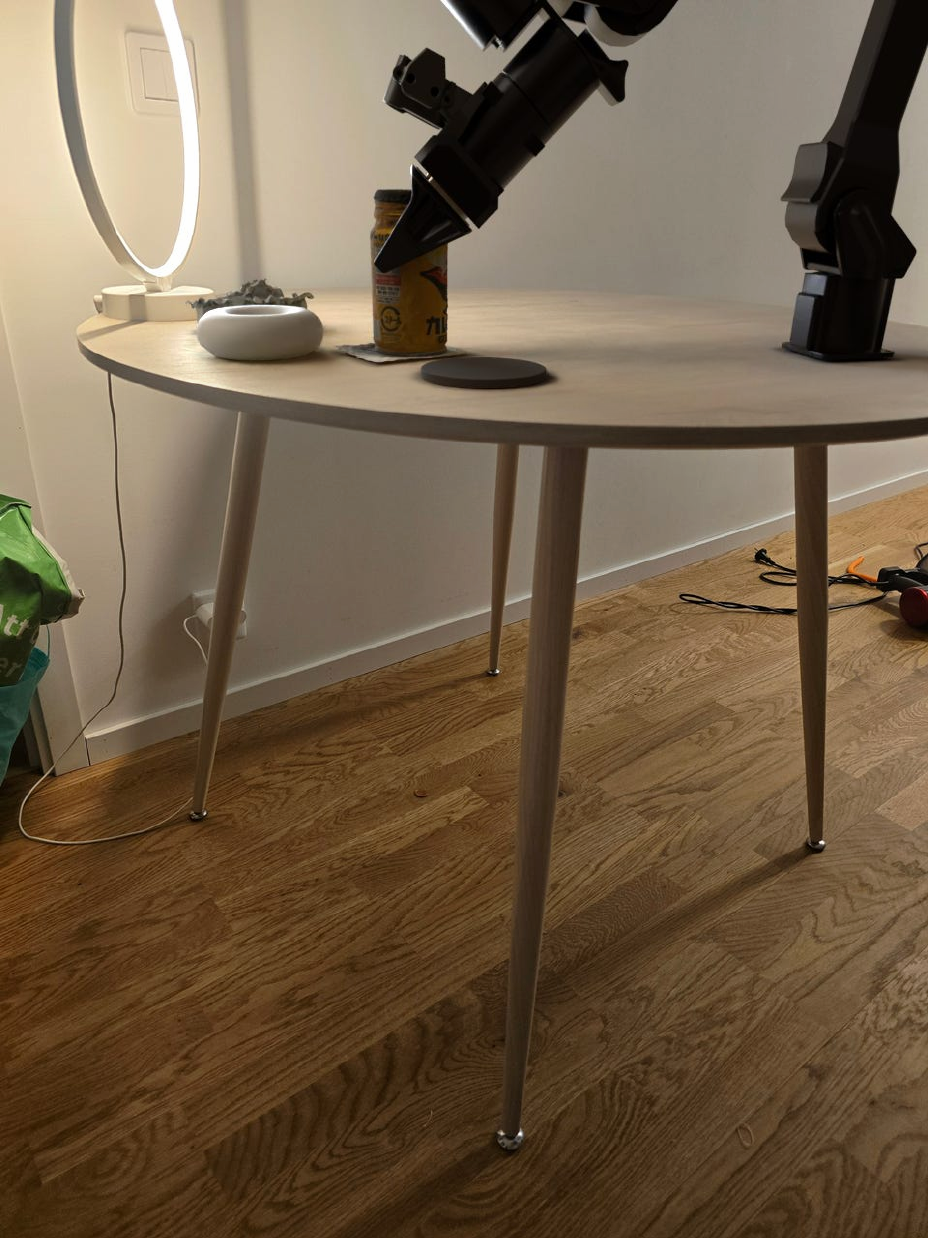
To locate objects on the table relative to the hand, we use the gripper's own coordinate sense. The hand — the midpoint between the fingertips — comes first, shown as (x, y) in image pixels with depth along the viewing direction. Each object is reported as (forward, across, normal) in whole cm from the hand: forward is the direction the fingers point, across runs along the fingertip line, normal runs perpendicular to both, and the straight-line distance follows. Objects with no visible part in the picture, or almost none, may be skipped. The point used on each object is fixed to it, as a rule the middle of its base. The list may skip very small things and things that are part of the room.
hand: (381, 265), depth 69 cm
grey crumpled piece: (+14, -13, -4) cm, 20 cm away
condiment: (+4, 0, +6) cm, 7 cm away
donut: (+12, +1, -2) cm, 12 cm away
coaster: (-1, +10, +10) cm, 14 cm away
